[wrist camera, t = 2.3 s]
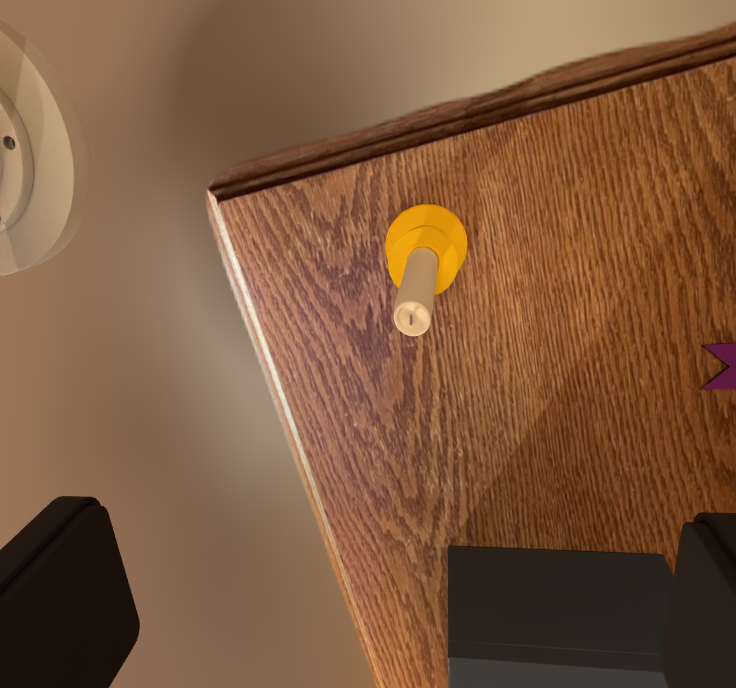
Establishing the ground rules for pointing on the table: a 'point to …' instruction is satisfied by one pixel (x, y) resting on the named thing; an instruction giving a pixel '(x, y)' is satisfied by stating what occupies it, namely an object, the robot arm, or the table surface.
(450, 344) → the table surface
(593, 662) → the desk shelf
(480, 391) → the table surface
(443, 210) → the candle
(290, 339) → the table surface
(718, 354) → the book
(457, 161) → the table surface
